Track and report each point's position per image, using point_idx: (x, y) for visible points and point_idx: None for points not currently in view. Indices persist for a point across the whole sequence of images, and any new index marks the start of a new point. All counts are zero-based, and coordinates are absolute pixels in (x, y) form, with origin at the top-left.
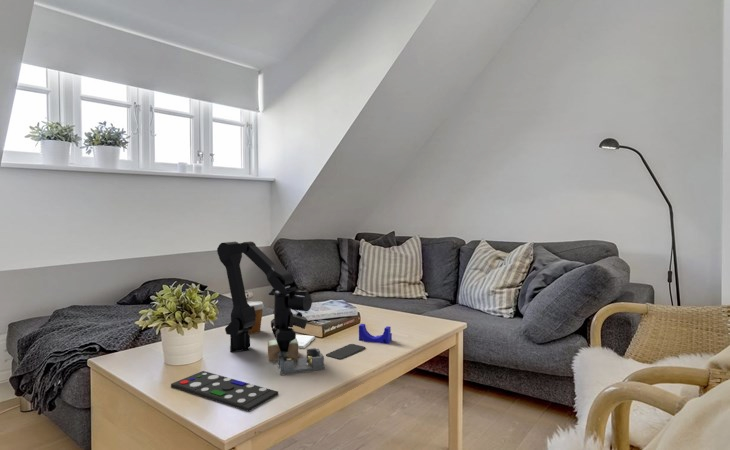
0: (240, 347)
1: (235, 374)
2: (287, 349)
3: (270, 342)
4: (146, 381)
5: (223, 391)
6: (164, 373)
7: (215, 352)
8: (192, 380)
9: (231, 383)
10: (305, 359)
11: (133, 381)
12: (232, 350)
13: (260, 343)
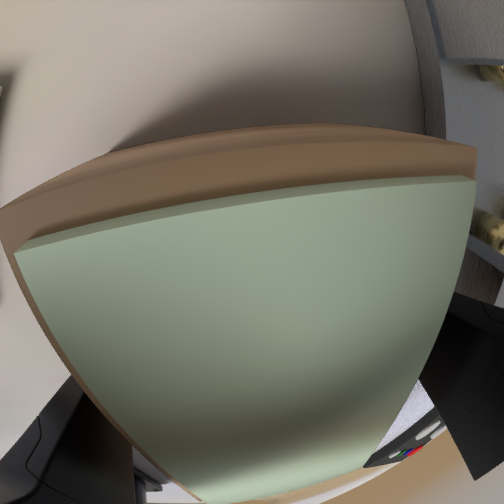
0: (139, 487)
1: (417, 407)
2: (460, 298)
3: (281, 490)
4: (349, 487)
5: None
6: (319, 494)
7: (166, 498)
8: (413, 448)
9: None
10: (470, 86)
11: (339, 494)
12: (158, 489)
13: (6, 418)
